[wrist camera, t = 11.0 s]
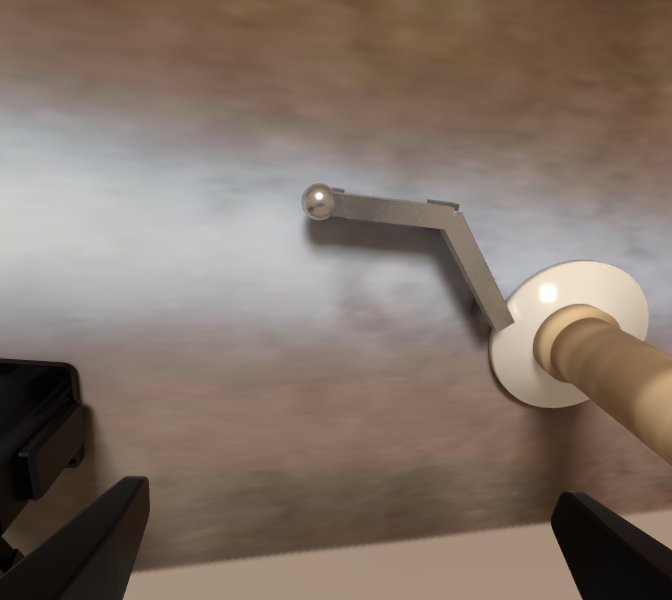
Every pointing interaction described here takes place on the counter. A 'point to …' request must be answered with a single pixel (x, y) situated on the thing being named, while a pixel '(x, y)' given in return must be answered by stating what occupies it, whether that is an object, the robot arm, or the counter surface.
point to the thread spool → (610, 371)
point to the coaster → (541, 301)
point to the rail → (433, 214)
